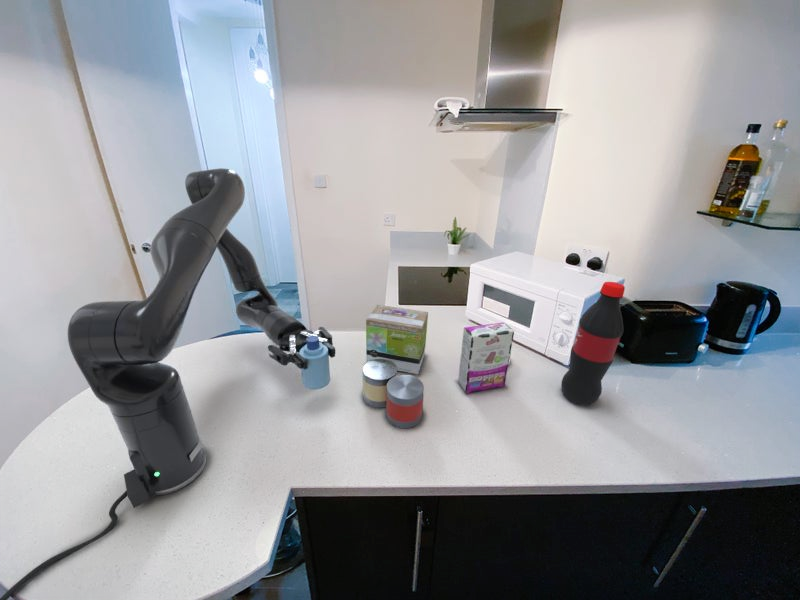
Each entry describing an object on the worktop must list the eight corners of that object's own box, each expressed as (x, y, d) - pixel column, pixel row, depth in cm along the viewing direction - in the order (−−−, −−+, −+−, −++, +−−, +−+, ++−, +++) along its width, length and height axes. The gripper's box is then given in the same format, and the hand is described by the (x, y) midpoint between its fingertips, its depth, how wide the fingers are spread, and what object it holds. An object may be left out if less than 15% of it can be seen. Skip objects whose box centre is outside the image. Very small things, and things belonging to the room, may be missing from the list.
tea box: (365, 366, 87) (364, 319, 81) (376, 347, 96) (376, 303, 90) (419, 375, 84) (422, 327, 78) (425, 355, 93) (428, 310, 87)
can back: (378, 413, 71) (378, 384, 68) (356, 395, 76) (355, 367, 73) (403, 396, 76) (404, 369, 73) (381, 380, 81) (381, 354, 78)
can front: (403, 434, 66) (405, 405, 62) (378, 413, 71) (378, 385, 68) (429, 415, 71) (431, 387, 68) (404, 397, 76) (405, 369, 73)
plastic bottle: (311, 393, 67) (306, 349, 62) (297, 380, 71) (292, 337, 66) (335, 381, 71) (332, 339, 66) (321, 369, 75) (317, 328, 70)
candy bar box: (494, 375, 85) (504, 321, 78) (504, 387, 80) (516, 331, 74) (456, 381, 82) (463, 326, 75) (464, 394, 78) (473, 336, 71)
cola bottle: (592, 389, 81) (630, 279, 68) (601, 412, 73) (646, 293, 61) (556, 382, 83) (587, 274, 70) (562, 404, 75) (597, 288, 63)
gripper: (251, 325, 71) (285, 357, 60) (309, 307, 80) (347, 332, 69) (256, 353, 74) (290, 388, 63) (311, 333, 83) (348, 361, 73)
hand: (320, 359), depth 66 cm, fingers closed on plastic bottle, 6 cm apart
